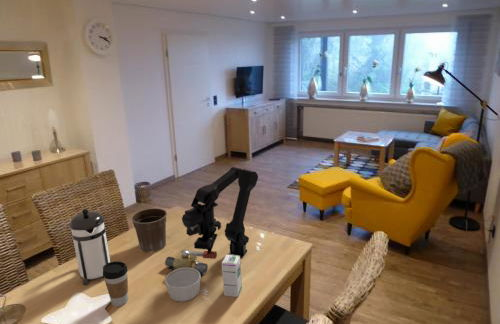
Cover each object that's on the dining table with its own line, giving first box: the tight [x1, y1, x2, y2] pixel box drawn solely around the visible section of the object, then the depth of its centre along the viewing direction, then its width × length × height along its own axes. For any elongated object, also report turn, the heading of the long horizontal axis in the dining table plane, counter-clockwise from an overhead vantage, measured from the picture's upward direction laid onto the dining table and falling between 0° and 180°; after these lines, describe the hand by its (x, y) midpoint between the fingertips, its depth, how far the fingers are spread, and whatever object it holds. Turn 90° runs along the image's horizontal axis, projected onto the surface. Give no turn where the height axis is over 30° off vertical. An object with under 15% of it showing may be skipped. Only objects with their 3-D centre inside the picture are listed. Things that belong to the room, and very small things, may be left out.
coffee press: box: [68, 208, 111, 286], centre depth 143 cm, size 17×16×30 cm
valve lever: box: [180, 248, 218, 260], centre depth 145 cm, size 15×3×2 cm, turn 81°
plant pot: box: [130, 207, 168, 253], centre depth 166 cm, size 16×16×16 cm
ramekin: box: [164, 268, 202, 302], centre depth 133 cm, size 13×13×7 cm
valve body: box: [164, 251, 209, 277], centre depth 147 cm, size 18×6×7 cm, turn 70°
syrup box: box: [221, 254, 243, 298], centre depth 132 cm, size 6×6×14 cm
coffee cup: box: [102, 260, 129, 307], centre depth 128 cm, size 8×8×15 cm
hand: (209, 252), depth 146 cm, fingers closed
